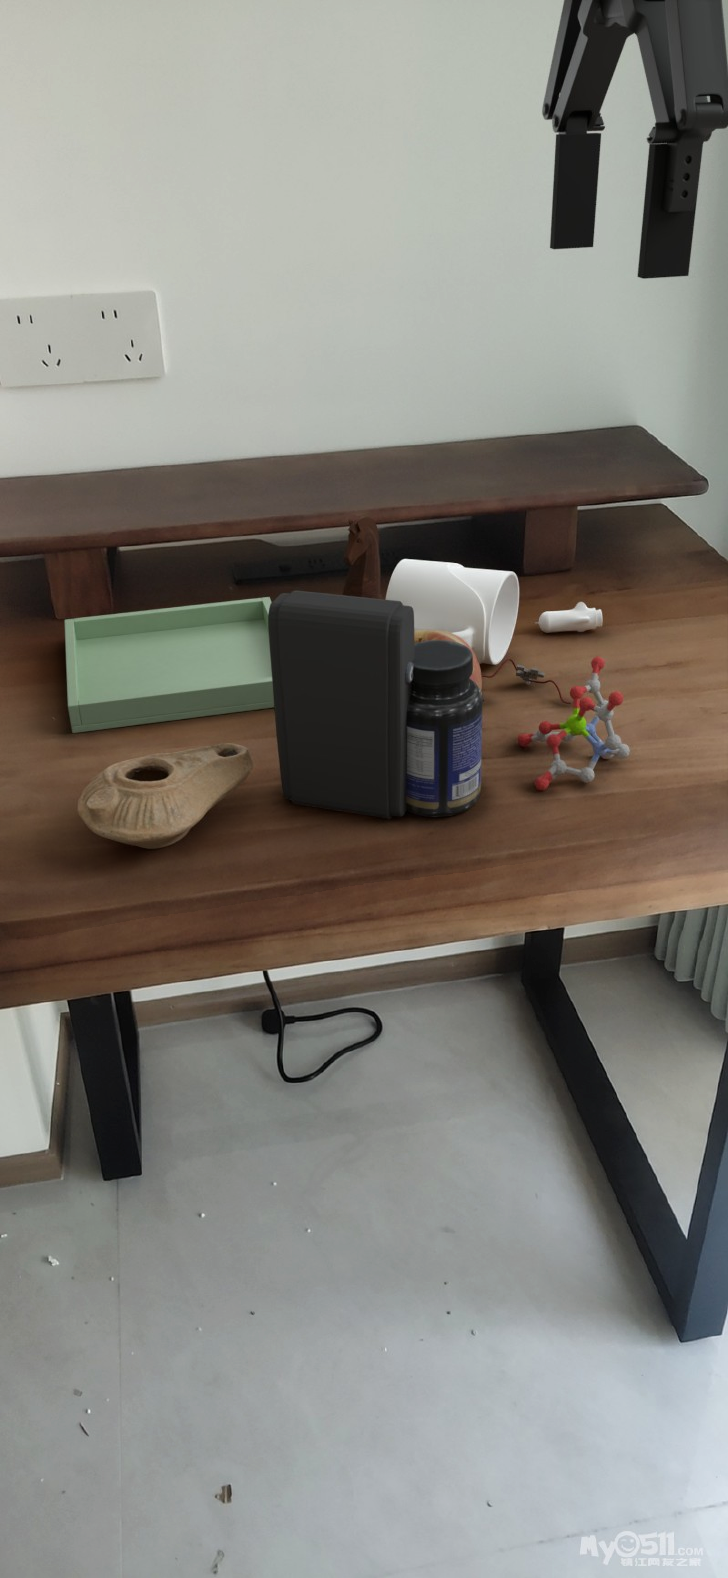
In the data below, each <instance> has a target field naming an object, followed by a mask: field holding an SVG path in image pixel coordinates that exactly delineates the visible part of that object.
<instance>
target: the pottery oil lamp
mask: <svg viewBox="0 0 728 1578" xmlns="http://www.w3.org/2000/svg"><path fill="white" fill-rule="evenodd" d="M253 768H254V761H253V759H252V756H251V753H250V751H249V749H248V747H246V746H244V745H240V744H236V743H230V742H228V743H227V742H223V743H219V744H212V745H211V744H210V745H206V746H199V747H195V748H194V747H193V748H189V749H183V750H178V751H172V752H160V753H159V752H158V753H151V754H148V755H145V756H140V757H135V758H130V759H125V760H122V761H121V760H120V761H118V762H115V763H113V764H111V765H109V766H107V767H106V768H105V769H104V770H103V771H101V772H99V773H97V775H96V776H95V777H94V778H93V779H92V780H91V781H90V782H89V783H88V785H87V786H86V787H85V788H84V789H83V791H82V793H81V795H80V797H79V798H78V800H77V814H78V815H79V817H80V818H81V820H82V821H83V823H85V825H86V826H87V827H88V829H89V830H90V831H91V832H93V833H94V834H95V835H97V836H100V837H101V838H104V839H108V840H112V841H115V842H118V843H122V844H125V845H129V846H137V847H139V848H143V849H148V850H156V849H162V848H166V847H169V846H172V845H173V844H175V843H177V842H179V841H181V840H182V839H183V838H184V837H186V836H187V834H188V833H189V832H190V830H191V829H192V828H193V827H195V825H197V824H198V823H199V822H200V821H201V820H202V819H203V818H204V817H205V815H206V814H207V813H208V811H210V810H211V809H212V808H213V807H215V806H216V805H217V804H218V803H219V802H220V801H221V800H223V799H224V798H225V797H227V796H228V795H230V794H231V793H232V792H233V791H235V790H236V789H237V788H238V787H239V786H240V785H242V783H243V782H245V780H246V779H247V778H248V777H249V775H250V773H251V771H252V770H253Z"/></svg>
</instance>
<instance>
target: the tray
mask: <svg viewBox="0 0 728 1578" xmlns="http://www.w3.org/2000/svg"><path fill="white" fill-rule="evenodd" d="M272 602H273V601H272V600H271V597H270V596H266V597H265V596H264V597H257V598H247V599H239V600H237V599H236V600H230V601H229V600H228V601H221V602H219V601H218V602H210V603H202V604H191V605H182V606H174V607H166V608H155V609H148V610H139V611H129V612H121V613H120V612H119V613H112V614H103V615H92V616H85V617H75V618H67V619H64V642H65V643H64V644H65V646H64V647H65V668H66V694H67V695H66V697H67V698H66V699H67V711H68V715H69V722H70V727H71V732H72V734H77V733H85V732H93V731H100V730H101V731H102V730H109V729H115V728H116V729H117V728H124V727H132V726H140V725H147V724H155V723H163V722H164V723H165V722H170V721H178V720H179V721H181V720H186V719H188V720H189V719H195V718H202V717H209V716H210V717H211V716H218V715H225V714H235V713H240V712H241V713H242V712H250V711H258V710H264V709H266V710H267V709H272V708H274V697H273V684H272V671H271V657H270V644H269V629H268V614H269V608H270V604H271V603H272Z"/></svg>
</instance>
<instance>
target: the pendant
mask: <svg viewBox="0 0 728 1578" xmlns="http://www.w3.org/2000/svg"><path fill="white" fill-rule="evenodd" d="M509 661H510V662H511V664H512V665H513V667H514V670H515V676H516V677H518V678H519V677H520V678H521V679H522V681H525V684H526V685H530V683H536V684H547V683H552V684H553V685H554V686H555V688H556V690H557V692H558V695H559V698H560V700H561V702H562V703H563V704H566V705H571V702H570V701H565V700H564V699H563V697H562V693H561V689H560V687H559V686H558V684H557V683H556V682H555V681H554V680H552V679H548V680H545V681H539V680H538V678H540V679H541V678H542V679H543V678H545V676H546V673H545V672H542V671H539V668H538V667H532V666H531V667H530V669H528V668H525V667H526V665H522V664H516V663H515V661H514V660H513V659H511V658H507V659H505V660H504V661H503V662H502V664H501V665H500V666H499V667H498V668H497V670H496V671H495V672H494V673H493V674H492V675H481V677H482V678H487V679H490V678H493V677H494V676H496V675H497V674H498V673H499V671H500V670H501V669H502V667H503V666H505V664H506V663H507V662H509ZM537 680H538V681H537ZM483 702H485V699H483Z"/></svg>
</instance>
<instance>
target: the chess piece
mask: <svg viewBox="0 0 728 1578" xmlns="http://www.w3.org/2000/svg"><path fill="white" fill-rule="evenodd" d="M347 522H348V525H349V527H348V529H347V530H348V531H349V533H348V535H347V538H348V541H347V542H348V543H347V546H346V549H345V552H344V554H343V562H344V563H345V564H347V565H349V569H348V571H347V574H346V578H345V581H344V585H343V590H342V595H345V596H355V597H365V598H374V599H383V595H382V594H381V557H380V551H379V550H380V535H379V528H378V525H377V523H376V521H375V520H374V518H372V517H369V516H364V515H363V516H362V515H361V516H359V517H357V518H355V519H354V520H352V519H348V521H347Z"/></svg>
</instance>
